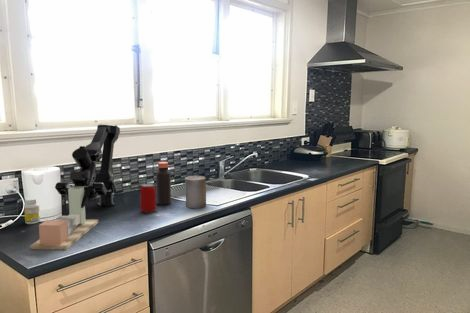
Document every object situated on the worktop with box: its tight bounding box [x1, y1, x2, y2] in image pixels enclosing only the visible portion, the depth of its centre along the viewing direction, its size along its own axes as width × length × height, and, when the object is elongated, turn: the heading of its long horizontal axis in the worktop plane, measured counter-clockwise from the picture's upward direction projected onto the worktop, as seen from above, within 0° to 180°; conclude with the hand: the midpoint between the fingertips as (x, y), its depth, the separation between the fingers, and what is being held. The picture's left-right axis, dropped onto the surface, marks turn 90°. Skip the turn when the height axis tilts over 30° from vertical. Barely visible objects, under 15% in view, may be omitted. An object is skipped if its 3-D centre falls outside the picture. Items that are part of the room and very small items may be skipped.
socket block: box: [38, 219, 68, 244], centre depth 125 cm, size 5×7×7 cm
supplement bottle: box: [23, 198, 41, 225], centre depth 149 cm, size 5×5×10 cm
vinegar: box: [155, 161, 172, 206], centre depth 178 cm, size 7×7×20 cm
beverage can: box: [139, 183, 157, 213], centre depth 166 cm, size 7×7×12 cm
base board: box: [29, 215, 99, 251], centre depth 136 cm, size 28×12×7 cm, turn 179°
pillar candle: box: [184, 175, 207, 209], centre depth 174 cm, size 10×10×15 cm
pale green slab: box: [67, 187, 86, 226], centre depth 137 cm, size 17×4×14 cm, turn 179°
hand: (75, 207), depth 142 cm, fingers closed on pale green slab, 4 cm apart
